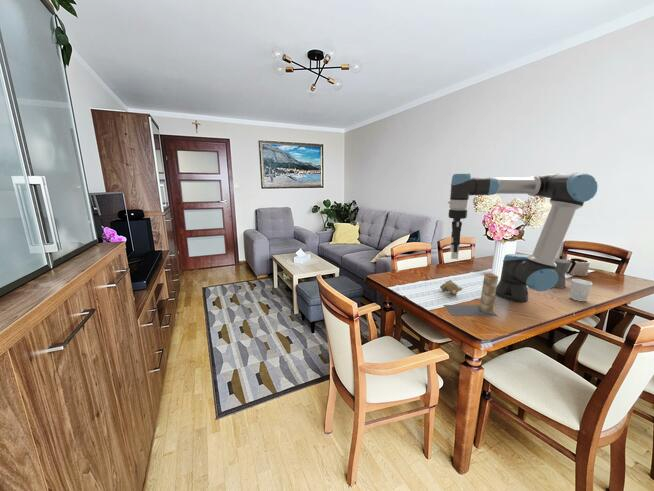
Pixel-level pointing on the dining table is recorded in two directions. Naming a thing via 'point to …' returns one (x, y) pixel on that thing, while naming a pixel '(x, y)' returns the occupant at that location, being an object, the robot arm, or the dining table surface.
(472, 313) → the rubber mat
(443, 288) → the turtle figurine
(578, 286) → the white cup
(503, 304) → the dining table surface
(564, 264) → the coffeepot
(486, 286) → the wooden block
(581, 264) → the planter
